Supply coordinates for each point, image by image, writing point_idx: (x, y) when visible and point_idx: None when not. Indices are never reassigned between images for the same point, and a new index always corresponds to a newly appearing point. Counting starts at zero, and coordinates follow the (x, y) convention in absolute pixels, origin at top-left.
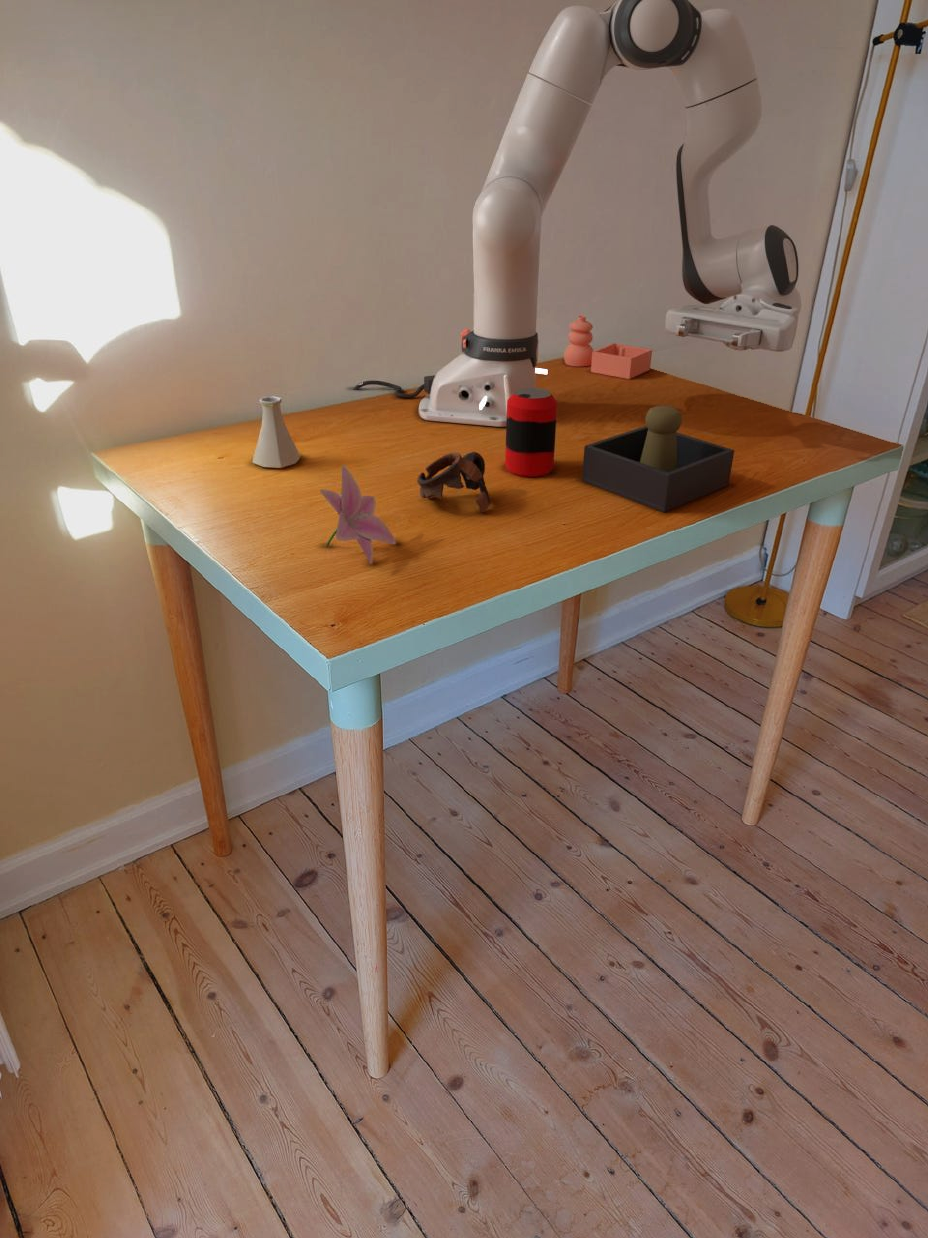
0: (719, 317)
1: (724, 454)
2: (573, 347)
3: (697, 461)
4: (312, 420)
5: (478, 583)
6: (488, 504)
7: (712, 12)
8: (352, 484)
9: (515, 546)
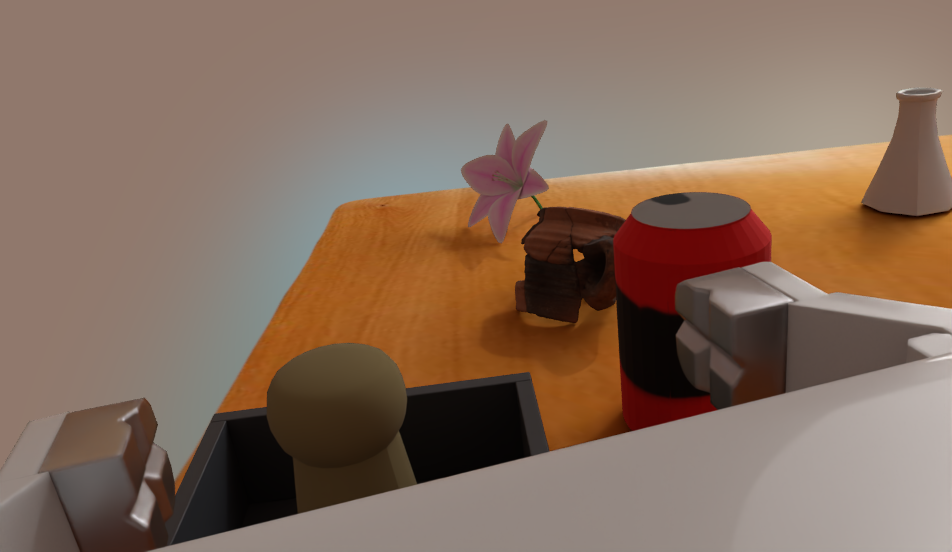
0: (606, 460)
1: None
2: None
3: (183, 509)
4: None
5: (337, 267)
6: (523, 308)
7: None
8: (531, 146)
9: (378, 307)
